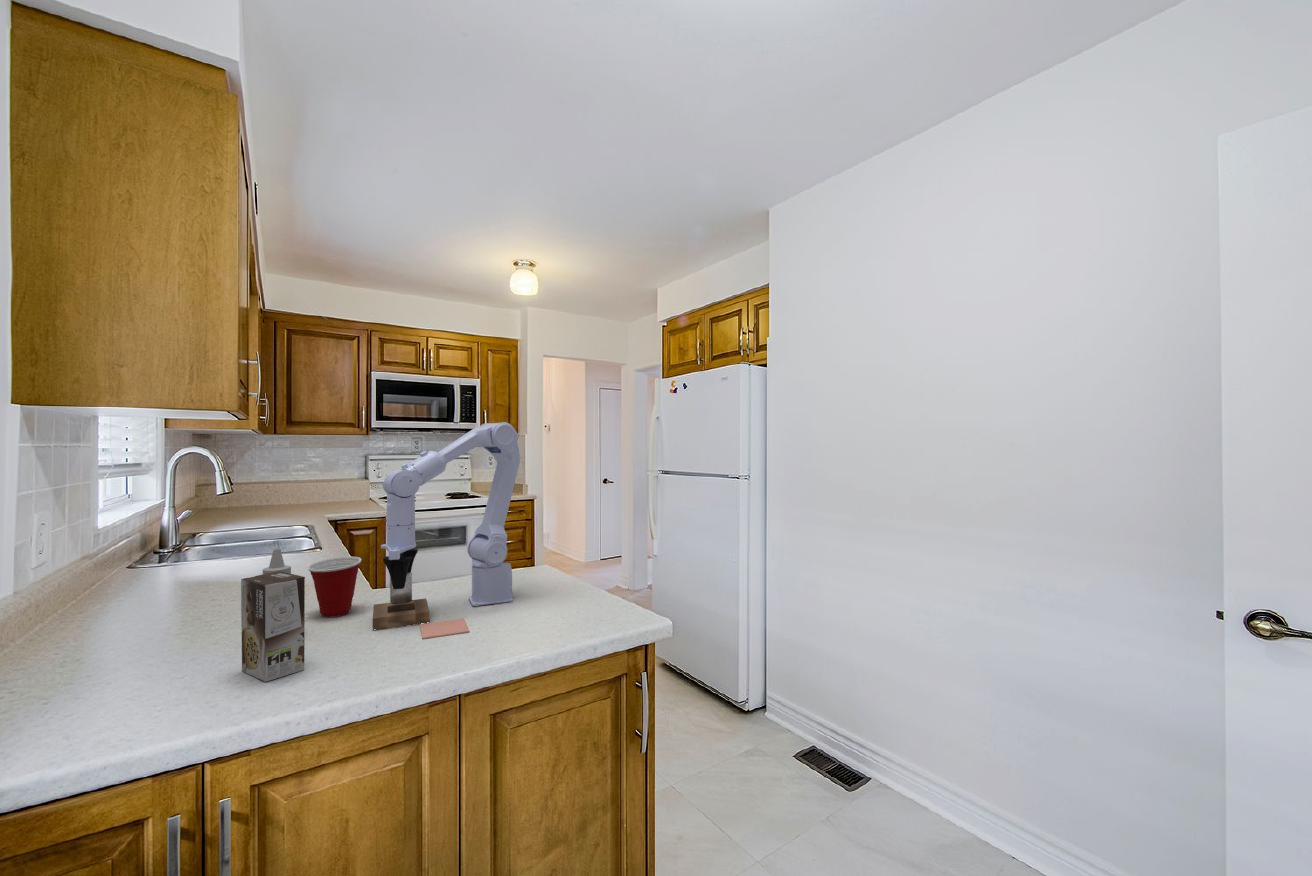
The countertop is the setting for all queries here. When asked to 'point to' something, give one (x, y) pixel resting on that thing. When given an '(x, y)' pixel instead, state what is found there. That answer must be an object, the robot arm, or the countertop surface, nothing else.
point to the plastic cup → (335, 584)
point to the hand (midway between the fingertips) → (401, 585)
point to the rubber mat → (443, 628)
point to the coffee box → (272, 625)
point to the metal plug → (402, 592)
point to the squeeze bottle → (277, 563)
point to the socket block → (400, 614)
